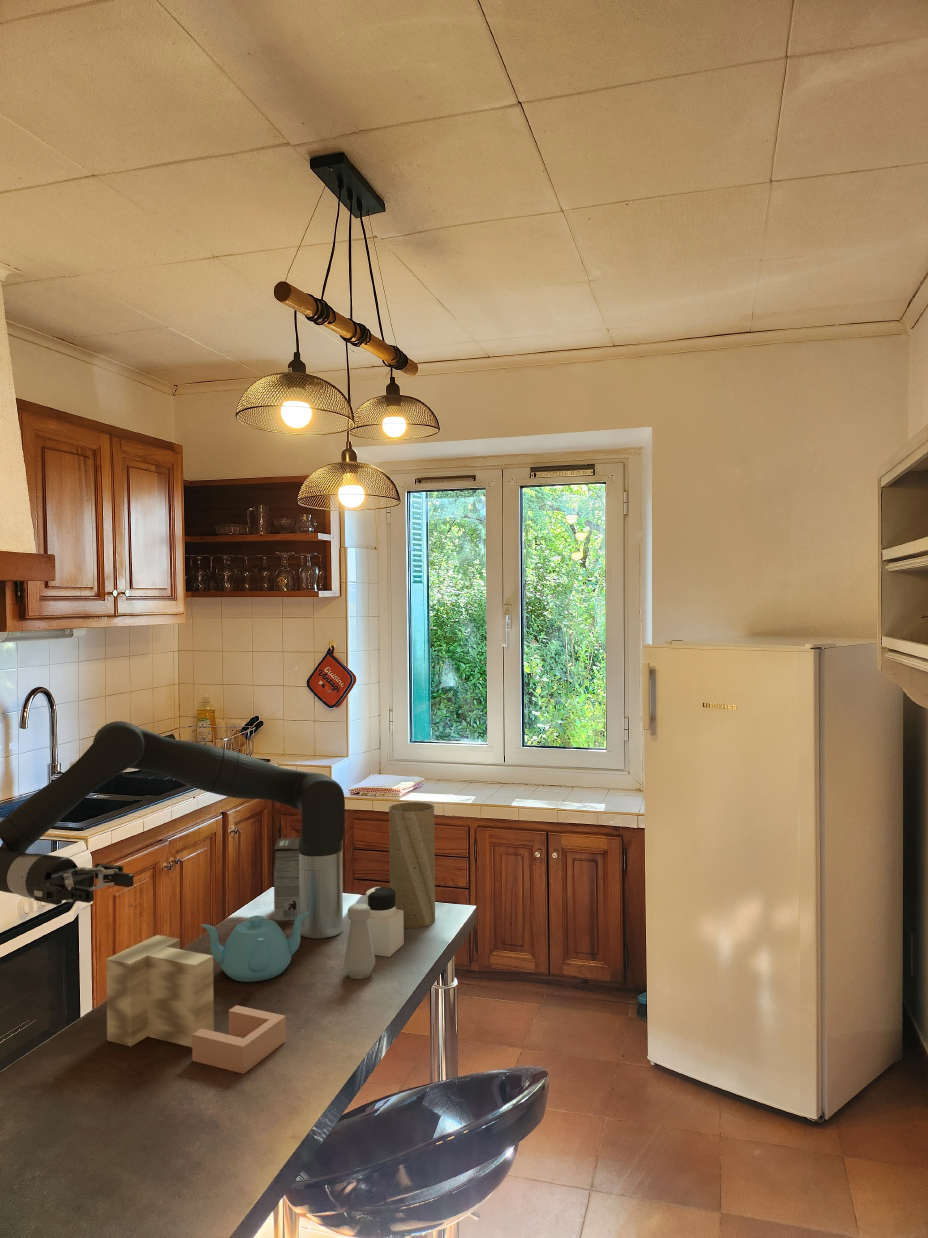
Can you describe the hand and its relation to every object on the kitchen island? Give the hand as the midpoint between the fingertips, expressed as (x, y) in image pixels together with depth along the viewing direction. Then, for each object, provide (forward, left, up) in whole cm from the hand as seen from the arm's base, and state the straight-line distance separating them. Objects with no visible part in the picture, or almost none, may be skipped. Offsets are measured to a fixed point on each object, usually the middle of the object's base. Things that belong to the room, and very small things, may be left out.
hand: (112, 888), depth 141 cm
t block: (+9, +8, -22) cm, 25 cm away
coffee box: (-37, +40, -22) cm, 59 cm away
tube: (-20, +63, -22) cm, 69 cm away
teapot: (-8, +26, -22) cm, 35 cm away
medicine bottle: (-8, +51, -22) cm, 56 cm away
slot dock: (+19, +16, -22) cm, 34 cm away
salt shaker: (+2, +43, -22) cm, 48 cm away
